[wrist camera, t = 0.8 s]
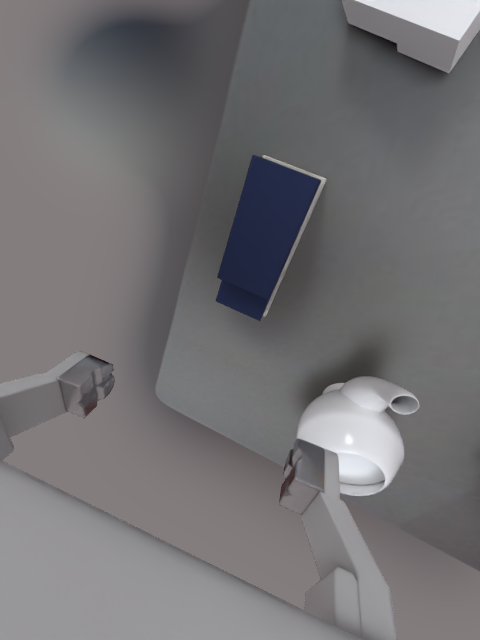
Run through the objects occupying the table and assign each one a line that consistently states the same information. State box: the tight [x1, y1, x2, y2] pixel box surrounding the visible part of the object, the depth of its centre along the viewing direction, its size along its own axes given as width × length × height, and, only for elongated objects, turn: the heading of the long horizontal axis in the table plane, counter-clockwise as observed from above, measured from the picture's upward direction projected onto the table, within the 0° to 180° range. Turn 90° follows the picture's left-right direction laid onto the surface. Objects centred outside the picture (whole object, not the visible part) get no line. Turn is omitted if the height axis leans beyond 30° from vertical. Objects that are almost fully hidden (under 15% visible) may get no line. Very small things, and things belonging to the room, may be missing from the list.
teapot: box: [296, 376, 419, 496], centre depth 26 cm, size 10×20×9 cm, turn 168°
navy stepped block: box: [216, 155, 327, 321], centre depth 22 cm, size 13×5×6 cm, turn 162°
